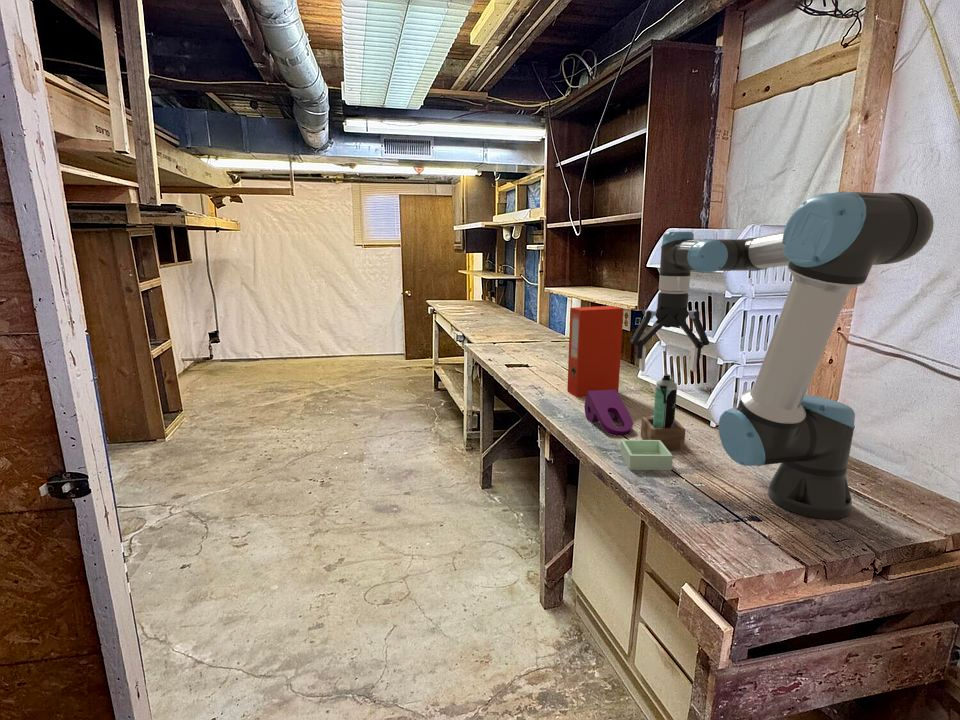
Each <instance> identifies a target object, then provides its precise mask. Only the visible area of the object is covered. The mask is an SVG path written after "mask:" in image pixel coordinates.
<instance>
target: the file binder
mask: <svg viewBox="0 0 960 720" xmlns="http://www.w3.org/2000/svg"><path fill="white" fill-rule="evenodd" d="M623 318H624V308H623V307H620V306H614V305H600V306H599V305H597V306H585V307H584V306H583V307H570V311H569V334H568V335H569V337H568V338H569V339H568V362H567V363H568V365H567V368H568V369H567V389H566V390H567V392H568V393H569V394H571V395H572V396H574V397H575V398H582V397H583V398H584V397H587V393H588V391H596V390H613V389H616V390H617V392H618V393H619V387H620V386H619V385H620V372H621V354H622V353H621V352H622V340H623V339H622V337H623V323H624V319H623Z"/></svg>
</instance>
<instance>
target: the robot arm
mask: <svg viewBox="0 0 960 720" xmlns="http://www.w3.org/2000/svg"><path fill="white" fill-rule="evenodd" d="M934 224H935V222H934V216H933V214H932V211H931V209H930V208H929V206H928V205H927V203H925V202H924V201H922V200H921V199H920V198H918V197H915V196H913V195H910V194H906V193H903V192H902V193H901V192H888V193H887V192H858V191H857V192H856V191H844V190H842V191H836V192H826V193H820V194H817V195H814V196H812V197H810V198H809V199H808V200H806V201H803V202H802V203H801V204H800V205H799V206H797V207H796V209H795V210H794V211H793V212H792V213H791V215H790V217H789V218H788V220H787V221H786V224H785V225H784V226H785V227H784V229H783V231H781V232H777V233H770V234H765V235H760V236H756V237H752V238H743V239H741V238H740V239H732V238H730V239H726V238H725V239H719V238H718V239H712V238H709V239H708V238H702V239H701V238H700V239H695V238H694V236H695V235H694V233H693V231H666V232H665V233H663V235H662V242H661V246H660V262H659V263H660V266H659V282H658V290H659V292H658V294H657V302H656V304H657V305H656V310H649V309H645V310H644V313H643V318H642V319H641V320H640V323H639V324H638V326H637V328H636V330H635V332H634V333H633V335H632V337H630V340H629V342H630V343H631V345H633V346H636V354H635V355H636V358H637V359H638V360H639V363H638V369H639V370H640V371H641V372H645V367H646V357H647V355H646V354H647V352H646V351H647V347H646V346H645V345H646V344H647V343H648V342H649V341H650V340H651V339H652V337H653V336H655V334H656V333H657V332H659V330H661V329H662V328H663V327H664V328H679V327H680V328H681V329H682V331H683V332H684V333H685V335H687V337H688V338H689V340H690V341H691V342H692V343H693V345H691V346H690V357H689V367H688V369H689V370H690V371H691V372H696V370H697V361H698V360H700V359H701V353H702V349H703V348H704V346H709V344H710V341H709V338H708V335H707V333H706V330H705V327H704V326H703V324H702V321H701V320H700V319H701V318H700V313H701V312H700V311H699V310H697V309H692V310H688V305H689V294H688V292H689V291H690V283H691V271H692V272H698V273H702V274H703V273H709V274H710V273H715V272H730V271H734V272H735V271H736V272H737V271H739V272H740V271H748V272H749V271H750V272H754V271H755V272H756V271H759V272H760V271H765V270H767V269H769V268H779V267H786V266H787V269H788V270H789V272H790V274H791V275H792V278H793V279H792V282H791V284H790V287H789V291H788V293H787V296H786V299H785V301H784V304H783V306H782V308H781V312H780V314H779V318H778V321H777V322H776V326H775V328H774V331H773V333H772V336H771V339H770V342H769V345H768V347H767V351H766V353H765V356H764V358H763V360H762V363H761V366H760V369H759V372H758V374H757V378H756V380H755V383H754V385H753V387H752V388H751V389H748V390H745V391H744V392H743V393H742V394H741V397H740V399H739V402H738V404H737V407H736V408H733V407H732V408H729V409H727V410H725V411H723V412H722V414H721V415H720V417H719V419H718V436H719V440H720V442H721V446H722V448H723V449H724V451H725V452H726V454H727V455H728V457H729V458H730V459H731V460H732V461H734V463H735V462H736V464H739V465H741V466H743V467H751V466H753V467H754V466H756V467H760V466H761V467H762V466H768V465H775V464H780V465H778V468H777V470H776V472H775V473H774V475H773V478H772V479H771V481H770V482H769V485H768V491H767V492H768V493H767V494H768V497H769V498H770V499H771V501H773V502H774V503H775V504H776V505H778V506H779V507H781V508H782V509H785V510H787V511H790V512H792V513H794V514H797V515H801V516H804V517H808V516H809V518H814V519H820V520H838V519H839V520H841V519H844V518H846V517H848V516H849V515H850V514H851V510H852V505H853V501H852V497H851V492H850V491H851V490H850V487H849V483H848V480H847V471H848V465H849V461H850V460H849V458H850V453H851V447H852V442H853V437H854V436H853V435H854V430H855V428H856V426H855V420H856V419H855V418H856V413H855V411H854V409H853V408H852V407H851V406H849V405H848V404H845V403H843V402H840V401H837V400H833V399H829V398H826V397H823V396H821V397H820V396H817V395H816V396H815V395H810V394H806V393H807V391H808V388H809V386H810V384H811V381H812V380H813V379H812V378H813V376H814V375H815V372H816V370H817V368H818V365H819V363H820V361H821V358H822V356H823V354H824V351H825V348H826V347H827V344H828V342H829V340H830V338H831V335H832V333H833V330H834V328H835V326H836V323H837V321H838V319H839V316H840V314H841V312H842V309H843V307H844V305H845V302H846V301H847V298H848V295H849V293H850V291H851V290H853V289H855V288H858V287H859V286H863V285H864V284H865V282H866V281H867V278H868V276H869V274H870V272H871V270H872V267H873V266H874V265H875V266H878V265H890V264H894V263H900V262H902V261H905V260H907V259H910V258H911V257H913V256H915V255H916V254H918V253H919V252H920V251H922V250H923V248H924V247H925V246H926V245H927V244H928V242H929V241H930V239H931V236H932V234H933V232H934V226H935V225H934ZM654 317H655V318H656V319H657V320H656V321H654V322H653V324H652V326H651V327H650V328H649V329H648V330H647V331H646V332H645V330H646V328H648V327H647V326H648V325H649V323H650V321H651V320H652V319H653V318H654ZM688 317H689V318H690V319H691V320H692V323H693V325H694V328H695V330H696V333H697V335H698V337H697V336H696V335H695V333H694V332H693V330H692V329H691V327H689V325H688V323H686V319H687V318H688ZM644 332H645V333H644Z"/></svg>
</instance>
